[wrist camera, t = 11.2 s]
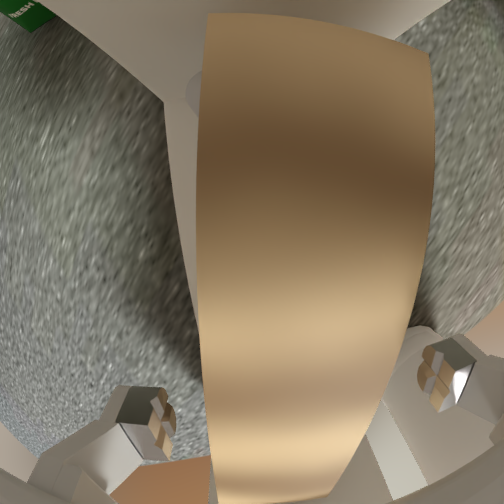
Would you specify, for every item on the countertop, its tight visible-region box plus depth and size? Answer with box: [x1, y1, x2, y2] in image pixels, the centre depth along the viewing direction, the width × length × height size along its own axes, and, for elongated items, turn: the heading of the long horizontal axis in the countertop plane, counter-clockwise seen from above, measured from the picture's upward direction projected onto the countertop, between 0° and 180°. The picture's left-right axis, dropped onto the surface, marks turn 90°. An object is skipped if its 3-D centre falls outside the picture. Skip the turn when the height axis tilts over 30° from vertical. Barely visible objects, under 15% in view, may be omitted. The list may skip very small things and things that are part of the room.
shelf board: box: [196, 13, 435, 504], centre depth 9 cm, size 20×6×3 cm, turn 178°
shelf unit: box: [37, 0, 451, 504], centre depth 12 cm, size 11×25×14 cm, turn 6°
